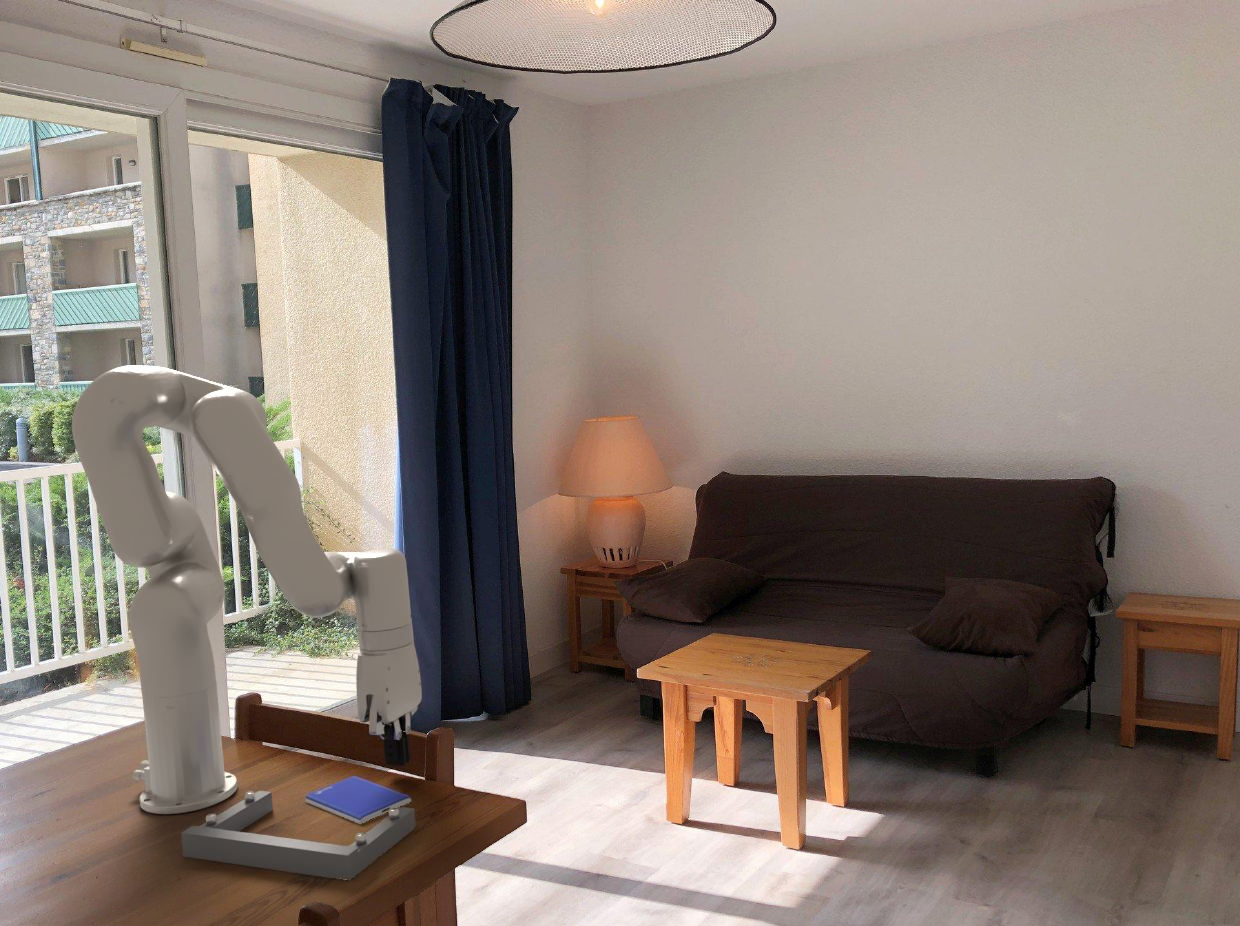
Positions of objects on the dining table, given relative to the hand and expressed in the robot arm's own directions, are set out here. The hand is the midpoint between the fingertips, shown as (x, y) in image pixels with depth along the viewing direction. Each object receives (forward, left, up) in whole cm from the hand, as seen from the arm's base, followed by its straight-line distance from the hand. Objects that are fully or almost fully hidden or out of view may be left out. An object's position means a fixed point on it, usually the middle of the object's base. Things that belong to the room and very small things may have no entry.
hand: (398, 762), depth 147 cm
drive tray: (-1, -21, -2) cm, 21 cm away
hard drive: (-1, -9, -3) cm, 10 cm away
